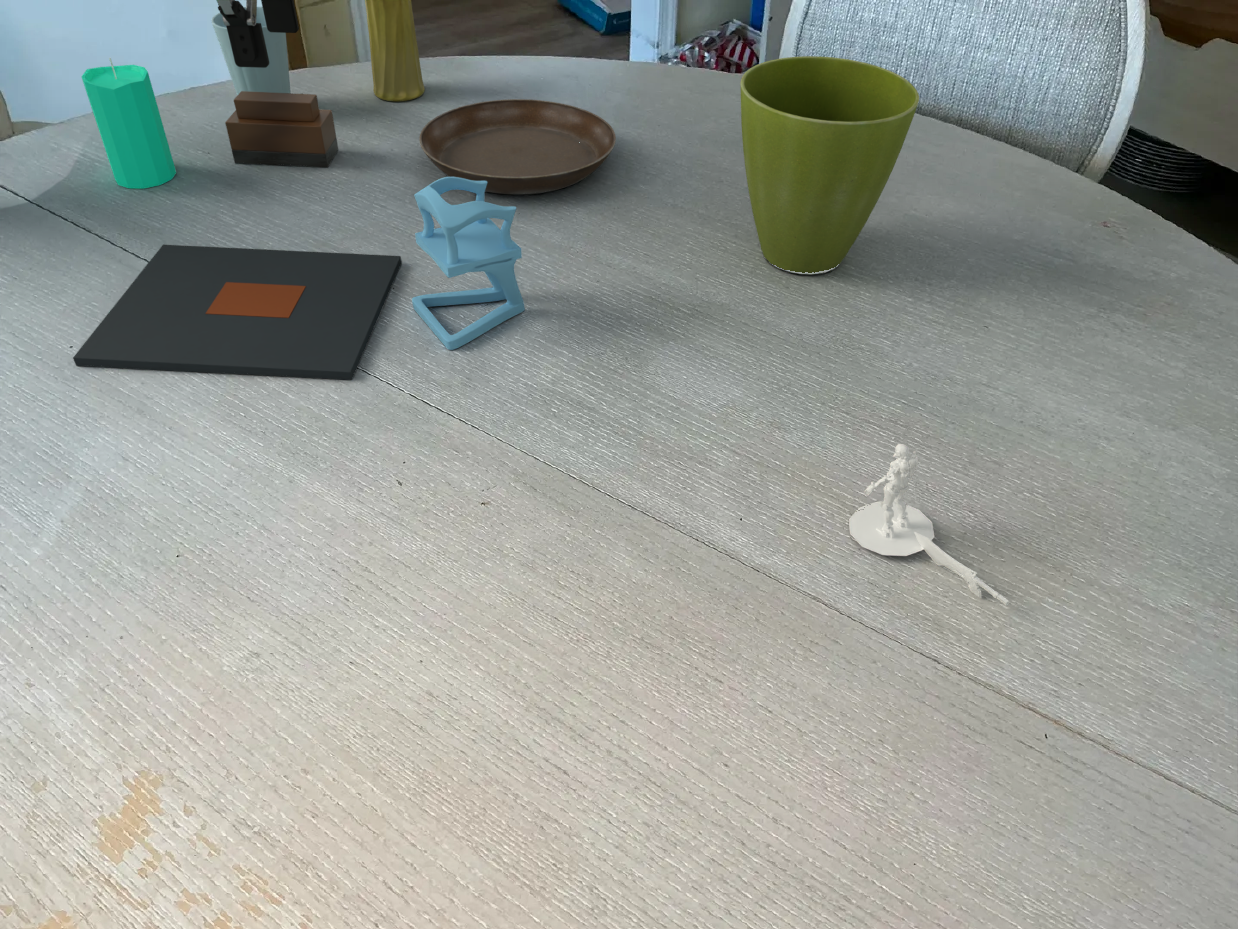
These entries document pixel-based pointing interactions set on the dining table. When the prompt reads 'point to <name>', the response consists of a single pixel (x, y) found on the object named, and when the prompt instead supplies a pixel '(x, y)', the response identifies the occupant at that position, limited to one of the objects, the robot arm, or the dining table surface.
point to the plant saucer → (518, 144)
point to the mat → (245, 313)
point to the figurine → (904, 523)
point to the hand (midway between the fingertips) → (269, 48)
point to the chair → (468, 255)
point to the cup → (252, 77)
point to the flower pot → (819, 152)
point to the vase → (394, 50)
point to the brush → (281, 130)
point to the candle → (130, 125)
